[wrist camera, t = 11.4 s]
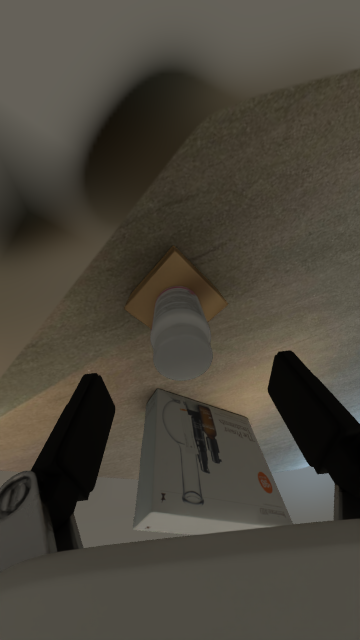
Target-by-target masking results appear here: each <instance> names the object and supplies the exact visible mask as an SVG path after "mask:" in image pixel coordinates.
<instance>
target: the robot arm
mask: <svg viewBox="0 0 360 640" xmlns="http://www.w3.org/2000/svg"><path fill="white" fill-rule="evenodd" d="M268 393H269V395H270V397H271V399H272V401H273V402H274V404H275V406H276V408H277V409H278V411H279V413H280V415H281V417H282V418H283V420H284V422H285V424H286V425H287V427H288V429H289V431H290V433H291V434H292V436H293V438H294V440H295V441H296V443H297V445H298V447H299V449H300V450H301V452H302V454H303V456H304V458H305V459H306V461H307V463H308V464H309V465H310V466H311V467H314V469H315V471H316V472H317V474H324V473H329V475H330V476H331V478H332V480H333V481H334V483H335V493H334V521H324V522H313V523H304V524H293V525H284V526H274V527H265V528H255V529H246V530H237V531H228V532H219V533H209V534H200V535H191V536H183V537H173V538H164V539H156V540H147V541H138V542H130V543H121V544H113V545H104V546H97V547H89V548H83V545H82V541H81V538H80V534H79V531H78V527H77V524H76V520H75V516H74V509H75V506H76V503H77V501H83V500H88V497H89V493H90V492H91V491H92V490H93V489H94V487H95V483H96V480H97V476H98V472H99V469H100V465H101V462H102V458H103V454H104V451H105V447H106V443H107V440H108V436H109V432H110V429H111V425H112V421H113V418H114V414H115V405H114V403H113V401H112V399H111V397H110V394H109V392H108V390H107V388H106V386H105V384H104V382H103V379H102V377H101V376H100V375H99V376H98V374H97V373H92V374H85V375H83V377H82V379H81V381H80V382H79V384H78V386H77V388H76V390H75V392H74V394H73V395H72V397H71V399H70V401H69V403H68V404H67V405H66V407H65V408H64V410H63V412H62V414H61V416H60V418H59V419H58V421H57V423H56V425H55V427H54V429H53V431H52V432H51V434H50V436H49V438H48V440H47V442H46V443H45V445H44V447H43V449H42V451H41V453H40V454H39V456H38V458H37V460H36V462H35V464H34V466H33V467H32V469H31V471H23V472H20V473H18V474H16V475H15V476H13V477H11V478H10V479H9V480H8V481H7V482H5V483H4V484H3V485H2V486H1V488H0V640H360V424H359V423H358V422H357V420H356V419H355V418H354V417H353V416H352V415H351V414H350V413H349V412H348V411H347V410H346V408H345V407H344V406H343V405H342V404H341V403H340V402H339V401H338V400H337V399H336V398H335V396H334V395H333V394H332V393H331V392H330V391H329V390H328V389H327V388H326V387H325V386H324V384H323V383H322V382H321V381H320V380H319V379H318V378H317V377H316V376H314V375H313V373H312V372H311V371H310V370H309V369H308V368H307V367H306V366H305V365H304V364H303V362H302V361H301V360H300V359H299V358H298V357H297V356H296V355H295V354H294V353H293V352H292V351H281V352H278V354H277V355H275V357H274V362H273V366H272V371H271V376H270V380H269V385H268Z"/></svg>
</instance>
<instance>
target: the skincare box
mask: <svg viewBox="0 0 360 640" xmlns="http://www.w3.org/2000/svg"><path fill="white" fill-rule="evenodd" d="M284 525H293V523H292V521H291V518H290V516H289V513H288V511H287V509H286V507H285V504H284V502H283V499H282V497H281V495H280V493H279V490H278V488H277V486H276V483H275V481H274V479H273V476H272V474H271V472H270V469H269V467H268V465H267V463H266V460H265V458H264V456H263V453H262V451H261V449H260V446H259V444H258V442H257V439H256V437H255V435H254V432H253V430H252V428H251V425H250V423H249V421H248V418H245V417H242V416H239V415H236V414H233V413H230V412H227V411H224V410H221V409H218V408H215V407H212V406H209V405H206V404H203V403H200V402H197V401H194V400H191V399H188V398H185V397H182V396H179V395H176V394H173V393H170V392H167V391H164V390H161V389H157V390H156V391H155V393H154V394H153V396H152V397H151V399H150V400H149V402H148V403H147V405H146V414H145V424H144V434H143V440H142V448H141V459H140V472H139V481H138V491H137V500H136V509H135V517H134V523H133V529H134V530H142V531H154V532H165V533H176V534H188V535H200V534H209V533H219V532H228V531H237V530H246V529H255V528H265V527H274V526H284Z"/></svg>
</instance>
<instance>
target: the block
mask: <svg viewBox="0 0 360 640" xmlns="http://www.w3.org/2000/svg"><path fill="white" fill-rule="evenodd" d="M173 286H183V287H186V288H188V289H190V290H192V291H193V292H194V293H195V294H196V296H197V297H198V299H199V301H200V304H201V307H202V310H203V312H204V315H205V317H206V320H207V322H209V321H210V320H211V319H212V318H213V317H214V316H215V315H217V314H218V313H219V312H220V311H221V310H222V309H223V308H225V307H226V306H227V305H228V303H227V302H226V300H225V299H224V297H223V296H222V295H221V293H220V292H219V291H218V289H217V288H216V287H215V286H214V285H213V284H212V283H211V282H210V281H209V280H208V279H207V278H206V277H205V276H204V275H203V274H202V273H201V272H200V271H199V270H198V269H197V268H196V267H195V266H194V265H193V264H192V263H191V262H190V261H189V260H188V259H187V258H186V257H185V256H184V255H183V254H182V253H181V252H180V251H179V250H178V249H177V248H176V247H175V246H174V245H173V246H172V247H171V248H170V249H169V251H168V252H167V253H166V254H165V255H164V256H163V257H162V259H161V260H160V261H159V262H158V263H157V264H156V265H155V267H154V268H153V269H152V270H151V271H150V272H149V274H148V275H147V276H146V277H145V278H144V279H143V280H142V282H141V283H140V284H139V285H138V286H137V287H136V288H135V290H134V291H133V292H132V293H131V295H130V297H129V299H128V301H127V303H126V305H125V307H124V309H125V310H126V311H127V312H129V313H130V314H132V315H133V316H134V317H136V318H137V319H138V320H140V321H141V322H143V323H144V324H145V325H147V326H148V327H149V328H151V329H152V323H153V316H154V308H155V302H156V299H157V297H158V296H159V294H160V293H161V292H162V291H164V290H165V289H167V288H170V287H173Z"/></svg>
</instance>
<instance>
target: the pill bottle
mask: <svg viewBox="0 0 360 640" xmlns="http://www.w3.org/2000/svg"><path fill="white" fill-rule="evenodd" d="M210 341H211V332H210V328H209V325H208V322H207V320H206V317H205V315H204V312H203V310H202V307H201V304H200V301H199V299H198V297H197V296H196V294H195V293H194V292H193V291H192V290H190V289H188V288H186V287H183V286H173V287H170V288H167V289H165V290H164V291H162V292H161V293H160V294H159V296H158V297H157V299H156V302H155V308H154V316H153V323H152V329H151V344H152V347H153V349H154V356H153V361H154V365H155V367H156V369H157V370H158V372H159V373H160V374H162V375H163V376H165V377H167V378H169V379H172V380H179V381H184V380H190V379H194V378H196V377H198V376H200V375H202V374H203V373H204V372H205V371H206V370H207V369H208V368H209V366H210V365H211V362H212V358H213V354H212V350H211V346H210Z"/></svg>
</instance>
